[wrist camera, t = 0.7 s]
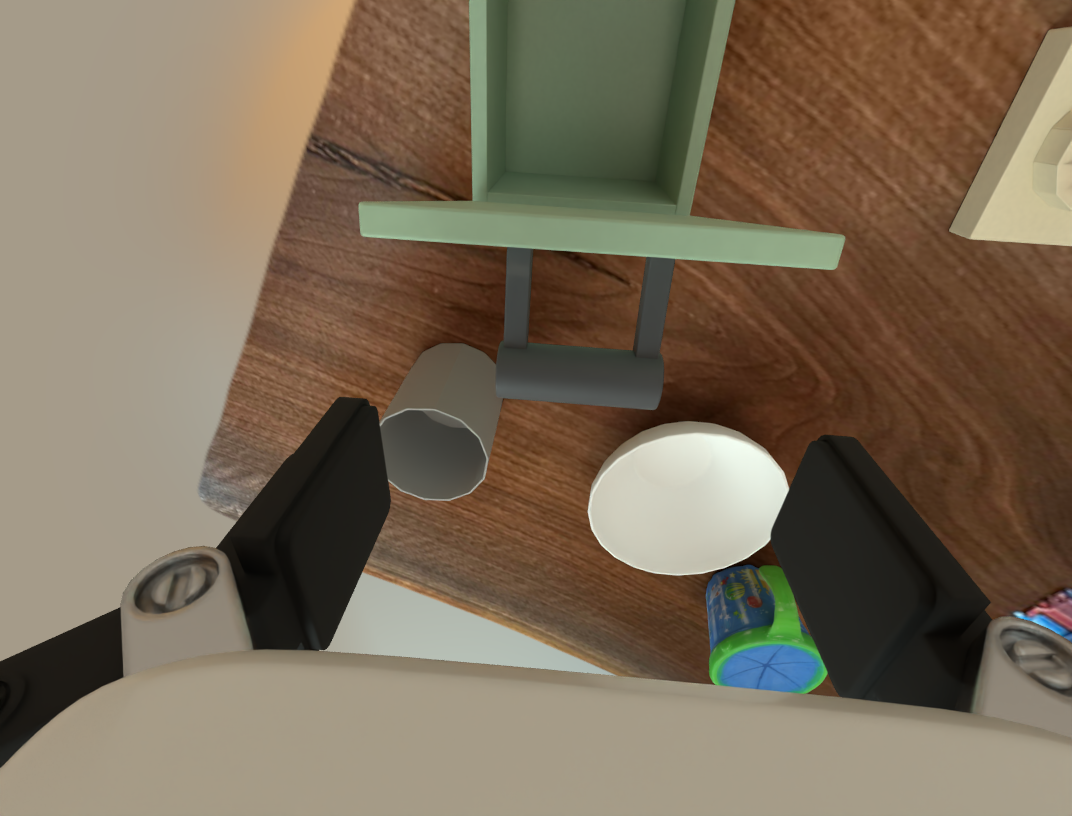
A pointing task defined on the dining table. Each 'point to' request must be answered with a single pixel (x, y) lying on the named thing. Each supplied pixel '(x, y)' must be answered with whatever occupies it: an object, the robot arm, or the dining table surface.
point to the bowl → (686, 499)
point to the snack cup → (759, 633)
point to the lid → (592, 231)
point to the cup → (442, 423)
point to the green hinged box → (593, 100)
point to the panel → (1029, 159)
